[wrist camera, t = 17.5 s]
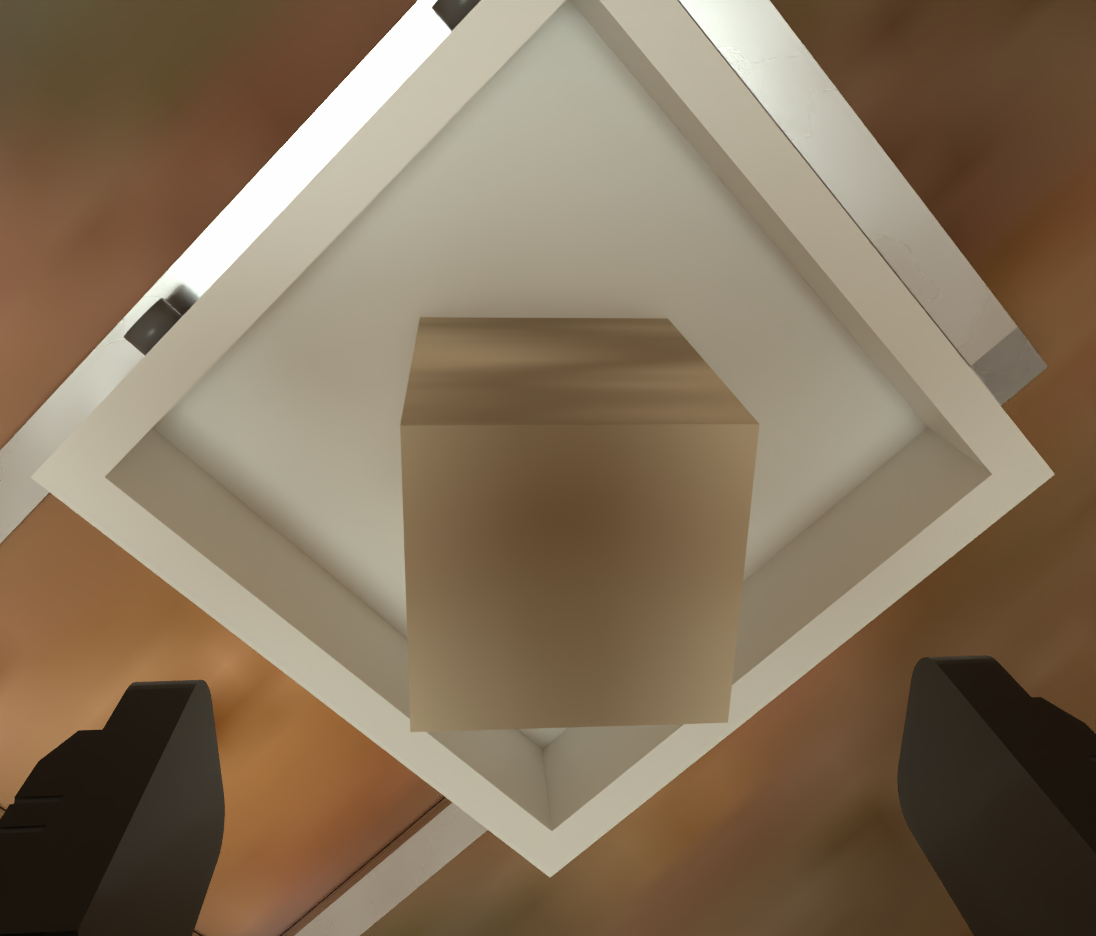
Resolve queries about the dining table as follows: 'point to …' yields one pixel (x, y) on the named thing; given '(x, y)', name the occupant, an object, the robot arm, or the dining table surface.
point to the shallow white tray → (542, 292)
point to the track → (713, 3)
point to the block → (571, 525)
